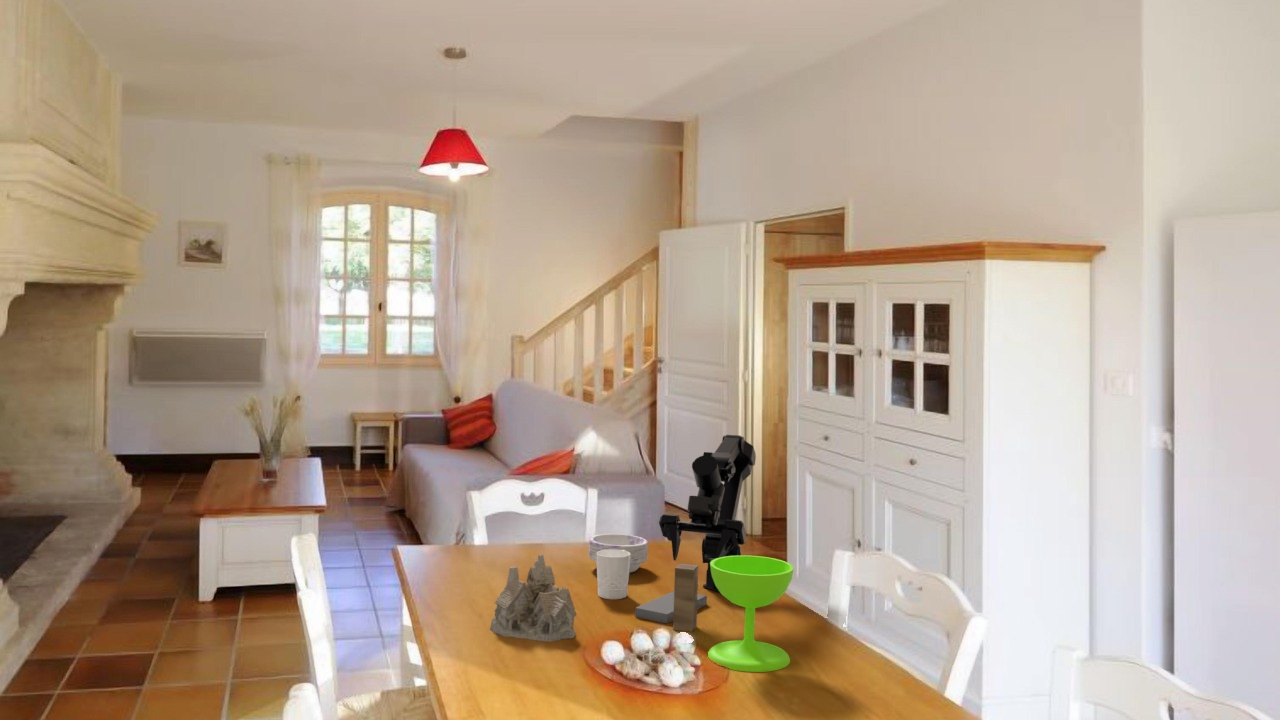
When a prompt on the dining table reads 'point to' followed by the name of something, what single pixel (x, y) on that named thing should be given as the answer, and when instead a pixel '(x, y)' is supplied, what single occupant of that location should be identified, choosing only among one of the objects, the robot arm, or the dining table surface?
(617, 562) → the white cup
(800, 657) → the dining table surface
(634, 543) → the paper bowls
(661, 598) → the slate board
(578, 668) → the dining table surface
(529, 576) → the ceramic cottage
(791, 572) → the wineglass
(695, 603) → the walnut block
